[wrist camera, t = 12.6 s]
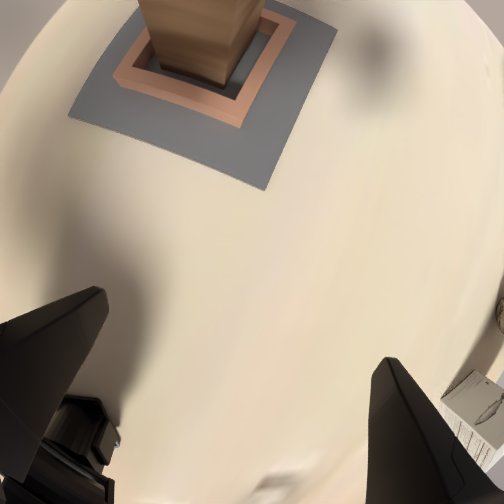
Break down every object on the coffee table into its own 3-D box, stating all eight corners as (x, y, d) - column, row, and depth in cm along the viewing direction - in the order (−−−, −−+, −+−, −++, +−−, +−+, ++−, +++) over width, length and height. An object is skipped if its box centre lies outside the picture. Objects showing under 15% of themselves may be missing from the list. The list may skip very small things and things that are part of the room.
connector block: (223, 90, 17) (243, -33, 5) (161, 68, 16) (122, -49, 4) (252, 41, 17) (292, -75, 5) (193, 22, 16) (190, -94, 4)
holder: (263, 191, 19) (270, 189, 17) (69, 117, 16) (55, 108, 14) (336, 32, 18) (347, 18, 15) (170, -24, 15) (168, -40, 12)
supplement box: (475, 367, 26) (534, 407, 14) (470, 399, 28) (519, 438, 16) (438, 398, 26) (497, 450, 14) (436, 428, 27) (483, 476, 15)
